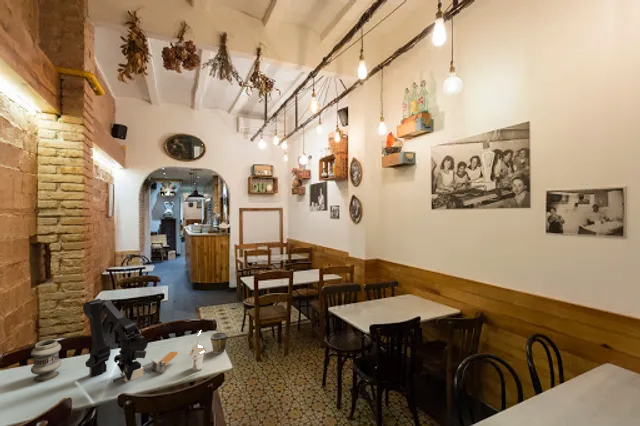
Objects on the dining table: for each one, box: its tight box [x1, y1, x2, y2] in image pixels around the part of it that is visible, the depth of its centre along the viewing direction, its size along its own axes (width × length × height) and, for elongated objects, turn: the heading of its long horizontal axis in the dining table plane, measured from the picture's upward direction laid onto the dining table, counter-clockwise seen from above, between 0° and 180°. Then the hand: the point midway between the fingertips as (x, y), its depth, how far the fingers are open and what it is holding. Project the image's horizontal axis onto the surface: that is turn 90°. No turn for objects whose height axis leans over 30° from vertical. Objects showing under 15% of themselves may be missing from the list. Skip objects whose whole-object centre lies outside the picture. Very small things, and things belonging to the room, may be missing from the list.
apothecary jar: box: [30, 339, 63, 383], centre depth 159 cm, size 12×12×18 cm
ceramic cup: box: [209, 331, 228, 355], centre depth 186 cm, size 13×10×10 cm
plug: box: [112, 365, 144, 384], centre depth 154 cm, size 13×4×4 cm, turn 141°
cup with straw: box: [188, 329, 207, 373], centre depth 166 cm, size 8×9×20 cm
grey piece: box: [119, 357, 166, 384], centre depth 160 cm, size 16×18×5 cm
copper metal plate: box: [158, 351, 178, 367], centre depth 166 cm, size 4×13×2 cm, turn 177°
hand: (127, 378), depth 154 cm, fingers closed on plug, 4 cm apart
